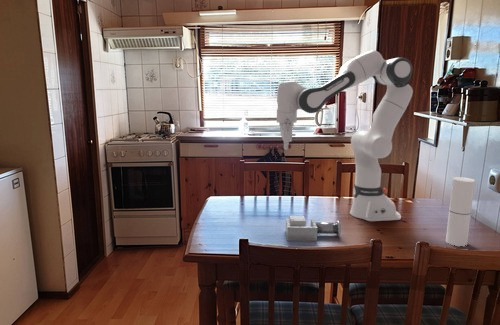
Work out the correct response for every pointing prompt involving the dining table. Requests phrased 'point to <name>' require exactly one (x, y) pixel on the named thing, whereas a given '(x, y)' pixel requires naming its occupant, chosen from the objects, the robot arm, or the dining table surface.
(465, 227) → the cylindrical container
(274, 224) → the dining table surface
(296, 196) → the dining table surface
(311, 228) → the grey compartment organizer
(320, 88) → the robot arm
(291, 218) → the skincare box
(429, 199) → the dining table surface
